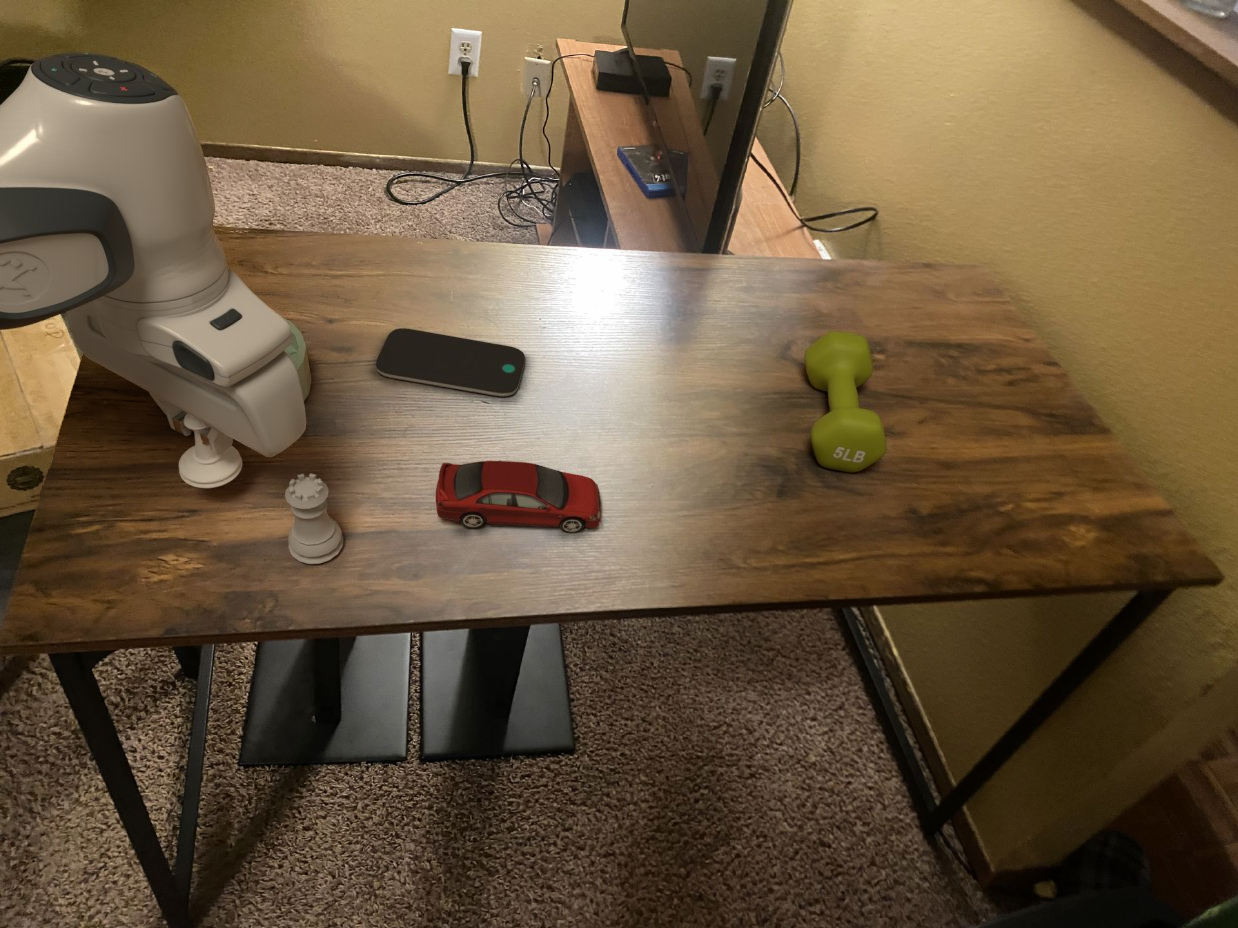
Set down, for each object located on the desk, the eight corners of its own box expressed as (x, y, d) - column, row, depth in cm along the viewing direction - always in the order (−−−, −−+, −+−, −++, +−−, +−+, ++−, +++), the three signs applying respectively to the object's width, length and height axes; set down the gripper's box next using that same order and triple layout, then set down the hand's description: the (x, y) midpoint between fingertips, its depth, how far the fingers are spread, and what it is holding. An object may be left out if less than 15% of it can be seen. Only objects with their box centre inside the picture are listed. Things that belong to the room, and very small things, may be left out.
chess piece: (231, 491, 70) (208, 404, 63) (169, 484, 69) (140, 395, 62) (250, 450, 73) (231, 362, 66) (192, 442, 73) (166, 354, 66)
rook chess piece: (286, 530, 72) (272, 469, 66) (340, 521, 74) (331, 460, 68) (292, 572, 70) (277, 511, 64) (347, 561, 71) (338, 501, 65)
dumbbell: (874, 484, 87) (901, 435, 82) (799, 469, 87) (822, 420, 82) (860, 382, 98) (883, 334, 93) (794, 369, 98) (814, 320, 93)
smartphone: (515, 394, 87) (371, 369, 86) (515, 400, 87) (372, 375, 87) (527, 348, 92) (391, 324, 91) (527, 354, 92) (392, 331, 92)
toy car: (441, 481, 79) (440, 445, 75) (599, 496, 80) (606, 461, 77) (432, 527, 75) (431, 491, 71) (598, 542, 76) (606, 507, 73)
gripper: (17, 262, 59) (76, 405, 69) (242, 382, 55) (270, 516, 64) (95, 226, 63) (140, 366, 73) (310, 335, 59) (327, 468, 69)
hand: (203, 437), depth 69 cm, fingers closed on chess piece
